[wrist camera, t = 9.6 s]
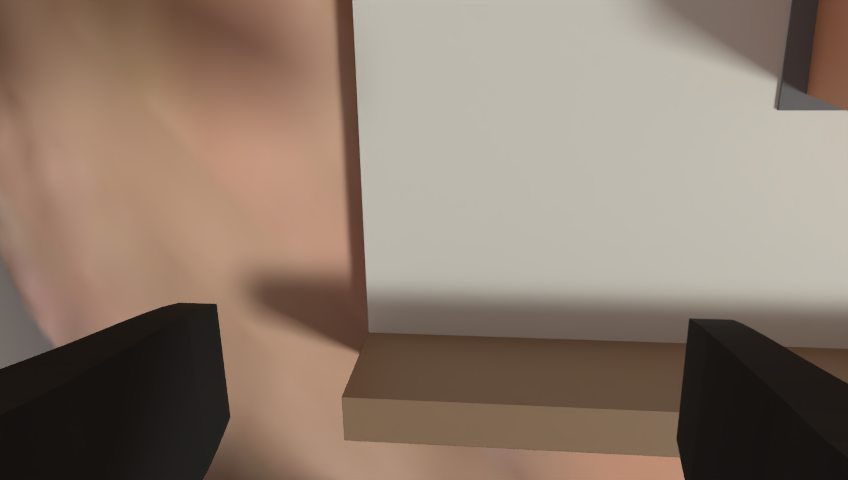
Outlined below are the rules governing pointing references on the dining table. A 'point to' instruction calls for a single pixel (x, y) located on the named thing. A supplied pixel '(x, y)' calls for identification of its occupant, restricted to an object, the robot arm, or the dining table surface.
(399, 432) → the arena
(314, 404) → the dining table surface
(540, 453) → the dining table surface
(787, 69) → the pad
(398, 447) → the dining table surface
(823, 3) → the bar
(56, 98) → the dining table surface
